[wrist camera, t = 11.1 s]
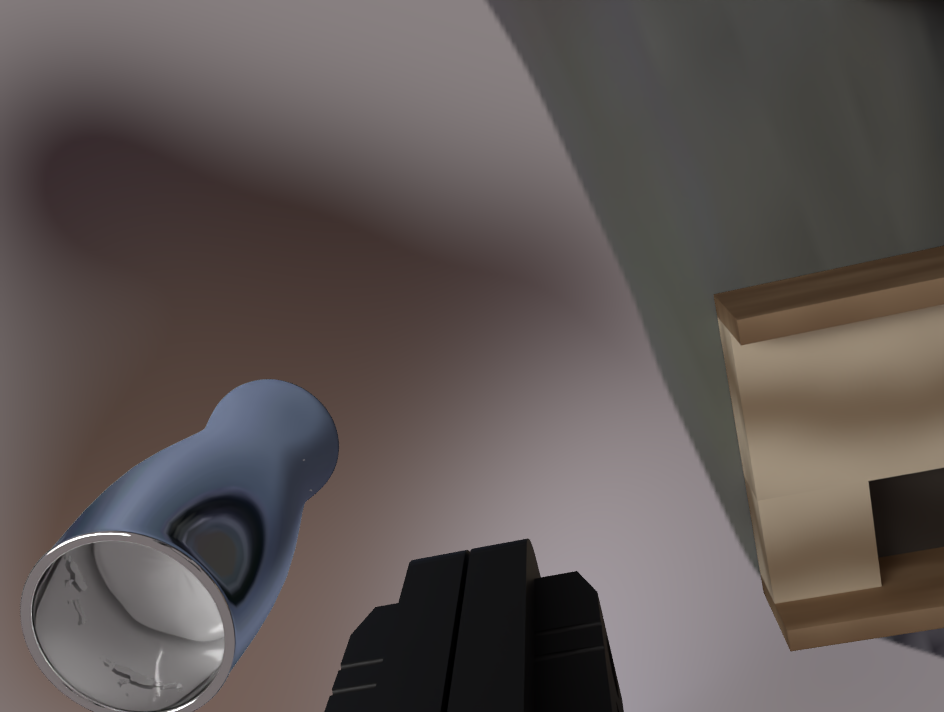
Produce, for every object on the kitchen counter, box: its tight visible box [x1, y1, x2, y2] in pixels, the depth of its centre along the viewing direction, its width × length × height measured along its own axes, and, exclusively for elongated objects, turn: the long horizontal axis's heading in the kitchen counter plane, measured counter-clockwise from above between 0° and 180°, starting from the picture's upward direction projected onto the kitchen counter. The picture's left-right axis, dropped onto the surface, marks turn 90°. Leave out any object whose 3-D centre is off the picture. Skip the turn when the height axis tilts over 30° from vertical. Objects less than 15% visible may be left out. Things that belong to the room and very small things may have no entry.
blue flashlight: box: [20, 379, 339, 712], centre depth 33 cm, size 7×7×15 cm
